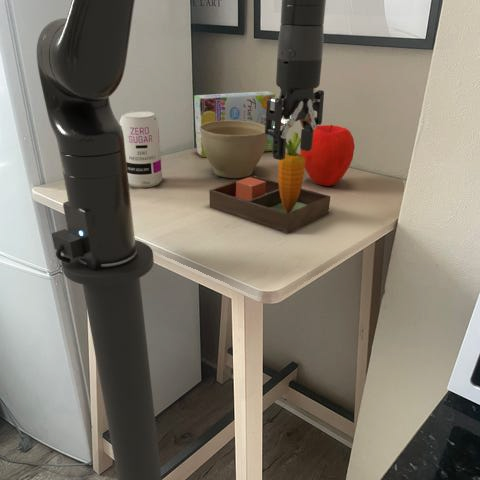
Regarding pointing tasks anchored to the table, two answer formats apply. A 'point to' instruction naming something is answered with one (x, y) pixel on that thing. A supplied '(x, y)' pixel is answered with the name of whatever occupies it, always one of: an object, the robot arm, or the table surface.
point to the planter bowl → (233, 146)
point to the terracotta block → (250, 188)
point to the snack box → (231, 111)
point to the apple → (329, 154)
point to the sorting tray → (271, 206)
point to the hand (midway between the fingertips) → (292, 154)
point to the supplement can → (142, 148)
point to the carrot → (291, 174)
